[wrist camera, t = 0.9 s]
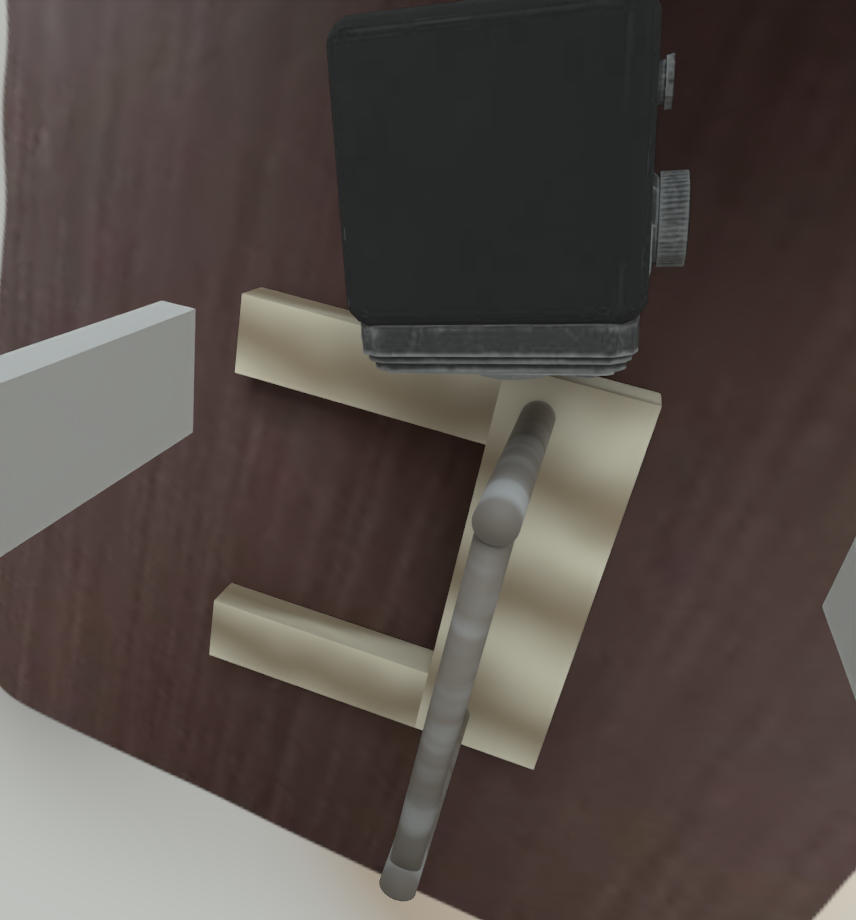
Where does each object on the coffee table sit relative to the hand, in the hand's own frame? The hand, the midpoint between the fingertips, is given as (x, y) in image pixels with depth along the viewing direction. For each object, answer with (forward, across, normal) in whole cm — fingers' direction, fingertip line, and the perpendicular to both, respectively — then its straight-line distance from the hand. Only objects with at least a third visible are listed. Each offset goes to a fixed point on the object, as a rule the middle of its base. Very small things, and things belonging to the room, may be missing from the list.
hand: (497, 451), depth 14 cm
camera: (+21, -2, +3) cm, 22 cm away
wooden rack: (+21, -6, -15) cm, 26 cm away
